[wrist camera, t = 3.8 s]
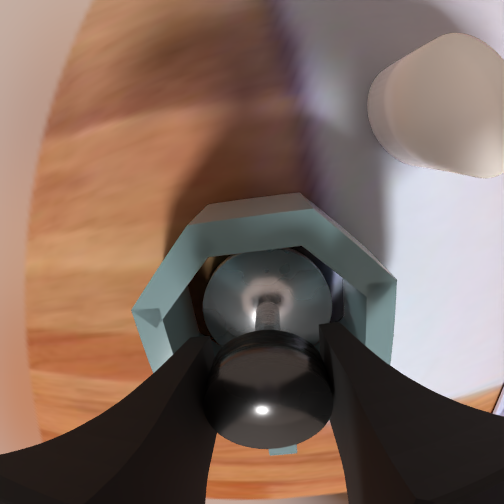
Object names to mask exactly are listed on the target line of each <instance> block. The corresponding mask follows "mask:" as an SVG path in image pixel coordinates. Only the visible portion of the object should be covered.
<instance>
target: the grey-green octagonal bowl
mask: <svg viewBox="0 0 504 504" xmlns="http://www.w3.org/2000/svg"><path fill="white" fill-rule="evenodd" d="M295 246H303V247H304V248H305V249H306V250H308V251H309V252H310V253H312V254H313V255H314V256H316V257H317V258H318V259H319V260H321V261H322V262H323V263H325V264H326V265H327V266H328V267H330V268H331V269H332V270H333V271H335V272H336V273H337V274H339V275H340V276H341V277H342V278H343V301H344V317H343V318H342V319H341V320H340V321H339V322H340V323H341V324H342V325H343V326H344V327H346V328H347V329H348V330H349V331H350V332H351V333H352V334H353V335H354V336H355V337H356V338H357V339H358V340H360V341H361V342H362V343H363V344H364V345H365V346H366V347H367V348H369V349H370V350H371V351H372V352H374V353H375V354H376V355H377V356H378V357H380V358H381V359H382V360H383V361H385V362H386V363H387V364H389V365H390V362H391V353H392V344H393V333H394V321H395V306H396V286H397V279H396V278H395V277H394V276H393V275H392V274H391V273H390V272H389V271H388V270H387V269H386V268H385V267H384V266H383V265H382V263H381V262H380V261H379V260H378V259H377V258H376V257H375V256H374V255H373V254H372V253H371V252H370V251H369V250H368V249H367V248H366V247H365V246H364V245H363V244H361V243H360V242H359V241H358V240H357V239H356V238H354V237H353V236H352V235H351V234H350V233H349V232H347V231H346V230H345V229H344V228H343V227H341V226H340V225H339V224H338V223H337V222H335V221H334V220H333V219H332V218H331V217H329V216H328V215H327V214H326V213H324V212H323V211H322V210H321V209H320V208H318V207H317V206H316V205H315V204H313V203H312V202H311V201H310V200H308V199H307V198H306V197H305V196H303V195H302V194H301V193H300V192H297V193H289V194H280V195H272V196H264V197H257V198H249V199H242V200H234V201H227V202H220V203H214V204H208V205H207V206H206V207H205V208H204V209H203V210H202V211H201V212H200V213H199V214H198V215H197V216H196V217H195V218H194V219H193V220H192V221H191V222H190V223H189V224H188V225H187V226H186V228H185V229H184V231H183V232H182V234H181V235H180V236H179V238H178V239H177V241H176V242H175V244H174V245H173V247H172V248H171V250H170V251H169V253H168V254H167V256H166V257H165V259H164V260H163V262H162V263H161V265H160V266H159V268H158V269H157V271H156V272H155V274H154V275H153V277H152V279H151V280H150V282H149V283H148V285H147V286H146V288H145V289H144V291H143V293H142V294H141V296H140V297H139V299H138V300H137V302H136V304H135V305H134V307H133V308H132V310H131V311H132V314H133V317H134V320H135V323H136V326H137V329H138V332H139V335H140V338H141V341H142V344H143V346H144V349H145V352H146V355H147V358H148V360H149V363H150V366H151V368H152V371H153V373H154V372H155V371H156V370H157V369H159V368H160V367H161V366H162V365H163V364H164V363H165V362H166V361H167V360H168V359H169V358H170V357H171V356H172V355H173V354H174V353H175V352H176V351H177V350H178V349H179V348H180V347H181V346H182V345H183V344H184V343H185V342H186V341H187V340H188V339H189V338H190V337H203V336H204V335H203V334H201V333H200V332H199V329H198V325H197V321H196V317H195V313H194V309H193V305H192V300H191V296H190V292H189V288H188V284H189V282H190V281H191V279H192V278H193V277H194V275H195V274H196V273H197V271H198V270H199V269H200V267H201V266H202V265H203V263H204V262H205V260H206V259H207V258H208V257H214V256H222V255H230V254H238V253H246V252H255V251H263V250H271V249H279V248H287V247H295ZM211 343H212V347H213V351H214V355H215V356H216V354H217V353H218V352H219V350H220V349H221V348H222V347H221V346H220V345H218V344H217V343H215V342H214V341H212V340H211ZM314 347H315V348H316V349H317V350H318V351H319V353H320V344H319V342H318V343H317V344H316V345H315V346H314ZM329 420H330V419H329ZM293 453H297V444H296V445H292V446H288V447H284V448H276V449H269V454H270V455H283V454H293Z"/></svg>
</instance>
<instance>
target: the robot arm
mask: <svg viewBox="0 0 504 504" xmlns="http://www.w3.org/2000/svg"><path fill="white" fill-rule="evenodd" d="M319 344H320V354H321V356H322V358H323V361H324V364H325V368H326V372H327V376H328V380H329V384H330V389H331V393H332V397H333V411H332V414H331V417H330V422H331V426H332V429H333V433H334V436H335V439H336V443H337V446H338V450H339V453H340V457H341V460H342V465H343V469H344V474H345V480H346V487H347V494H348V501H349V504H504V387H503V390H502V392H501V395H500V397H499V399H498V402H497V404H496V406H495V409H494V411H493V413H489V412H485V411H482V410H479V409H475V408H472V407H470V406H467V405H464V404H461V403H459V402H456V401H454V400H451V399H449V398H447V397H444V396H442V395H440V394H438V393H436V392H434V391H432V390H430V389H428V388H426V387H424V386H422V385H420V384H419V383H417V382H415V381H413V380H412V379H410V378H408V377H407V376H405V375H403V374H402V373H400V372H399V371H397V370H396V369H395V368H393V367H392V366H390V365H389V364H387V363H386V362H385V361H383V360H382V359H381V358H380V357H378V356H377V355H376V354H375V353H374V352H372V351H371V350H370V349H369V348H367V347H366V346H365V345H364V344H363V343H362V342H361V341H360V340H358V339H357V338H356V337H355V336H354V335H353V334H352V333H351V332H350V331H349V330H348V329H347V328H346V327H344V326H343V325H342V324H341V323H340V322H333V323H326V324H319ZM214 358H215V355H214V351H213V347H212V343H211V339H210V336H203V337H190V338H189V339H188V340H187V341H186V342H185V343H184V344H183V345H182V346H181V347H180V348H179V349H178V350H177V351H176V352H175V353H174V354H173V355H172V356H171V357H170V358H169V359H168V360H167V361H166V362H165V363H164V364H163V365H162V366H161V367H160V368H159V369H157V370H156V371H155V372H154V373H153V374H152V375H151V376H150V377H149V378H148V379H146V380H145V381H144V382H143V383H142V384H141V385H139V386H138V387H137V388H136V389H135V390H134V391H133V392H131V393H130V394H129V395H128V396H126V397H125V398H124V399H122V400H121V401H120V402H118V403H117V404H115V405H114V406H112V407H111V408H110V409H108V410H107V411H105V412H104V413H102V414H100V415H99V416H97V417H95V418H94V419H92V420H90V421H88V422H86V423H85V424H83V425H81V426H79V427H77V428H75V429H74V430H72V431H69V432H67V433H65V434H63V435H61V436H58V437H56V438H54V439H51V440H49V441H46V442H43V443H41V444H38V445H35V446H32V447H28V448H25V449H21V450H18V451H14V452H10V453H6V454H1V455H0V504H205V498H206V486H207V478H208V472H209V467H210V462H211V458H212V453H213V448H214V444H215V439H216V434H217V432H216V431H215V430H214V429H213V428H212V427H211V426H210V424H209V423H208V421H207V419H206V417H205V414H204V409H203V403H204V397H205V393H206V388H207V384H208V380H209V375H210V371H211V367H212V363H213V360H214Z"/></svg>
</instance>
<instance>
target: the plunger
mask: <svg viewBox="0 0 504 504" xmlns="http://www.w3.org/2000/svg"><path fill="white" fill-rule="evenodd" d="M331 313H332V298H331V293H330V290H329V287H328V285H327V283H326V280H325V278H324V276H323V274H322V273H321V271H320V269H319V268H318V267H317V266H316V265H315V264H314V263H313V262H312V261H311V260H310V259H309V258H308V257H306V256H305V255H303V254H302V253H300V252H298V251H296V250H293V249H290V248H279V249H271V250H263V251H255V252H246V253H238V254H232V255H231V256H229V257H228V258H227V259H225V260H224V261H223V262H222V263H221V264H220V265H219V266H218V267H217V268H216V270H215V271H214V273H213V274H212V276H211V278H210V280H209V283H208V285H207V288H206V290H205V294H204V299H203V315H204V320H205V323H206V326H207V328H208V330H209V332H210V333H211V335H212V337H213V338H214V339H215V340H216V342H217V343H218V344H219V345H220V346H221V347H222V348H221V349H220V350H219V352H218V353H217V354H216V356H215V358H214V360H213V363H212V367H211V371H210V375H209V380H208V384H207V388H206V393H205V397H204V403H203V409H204V414H205V417H206V419H207V421H208V423H209V424H210V426H211V427H212V428H213V429H214V430H215V431H216V432H217V433H218V434H220V435H221V436H223V437H224V438H226V439H228V440H230V441H231V442H234V443H236V444H239V445H242V446H246V447H251V448H258V449H276V448H284V447H288V446H292V445H296V444H298V443H301V442H303V441H305V440H307V439H309V438H311V437H312V436H314V435H315V434H317V433H318V432H319V431H320V430H321V429H322V428H323V427H324V426H325V425H326V423H327V422H328V421H329V419H330V417H331V414H332V411H333V397H332V393H331V389H330V384H329V380H328V376H327V372H326V368H325V364H324V361H323V358H322V356H321V354H320V353H319V351H318V350H317V349H316V348H315V347H314V345H315V344H316V343H317V342H318V341H319V324H326V323H329V322H330V319H331Z"/></svg>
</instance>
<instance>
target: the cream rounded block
mask: <svg viewBox="0 0 504 504" xmlns="http://www.w3.org/2000/svg"><path fill="white" fill-rule="evenodd" d="M367 111H368V118H369V122H370V125H371V128H372V130H373V133H374V135H375V137H376V138H377V140H378V142H379V143H380V144H381V146H382V147H383V148H384V149H385V150H386V151H387V152H388V153H389V154H390V155H391V156H392V157H394V158H395V159H397V160H399V161H401V162H403V163H405V164H408V165H411V166H417V167H423V168H429V169H435V170H441V171H446V172H452V173H457V174H462V175H467V176H472V177H477V178H493V177H496V176H499V175H501V174H502V173H504V60H503V59H502V58H501V56H500V55H499V54H498V53H497V52H496V51H495V50H494V49H493V48H491V47H490V46H489V45H487V44H486V43H485V42H483V41H481V40H480V39H478V38H475V37H473V36H471V35H467V34H463V33H449V34H444V35H442V36H440V37H438V38H436V39H434V40H432V41H431V42H429V43H427V44H425V45H424V46H422V47H420V48H418V49H417V50H415V51H413V52H412V53H410V54H408V55H407V56H405V57H403V58H402V59H400V60H398V61H397V62H395V63H393V64H392V65H390V66H388V67H387V68H385V69H384V70H383V71H381V72H380V73H379V74H378V75H377V76H376V78H375V79H374V81H373V83H372V85H371V87H370V90H369V93H368V99H367Z"/></svg>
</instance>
